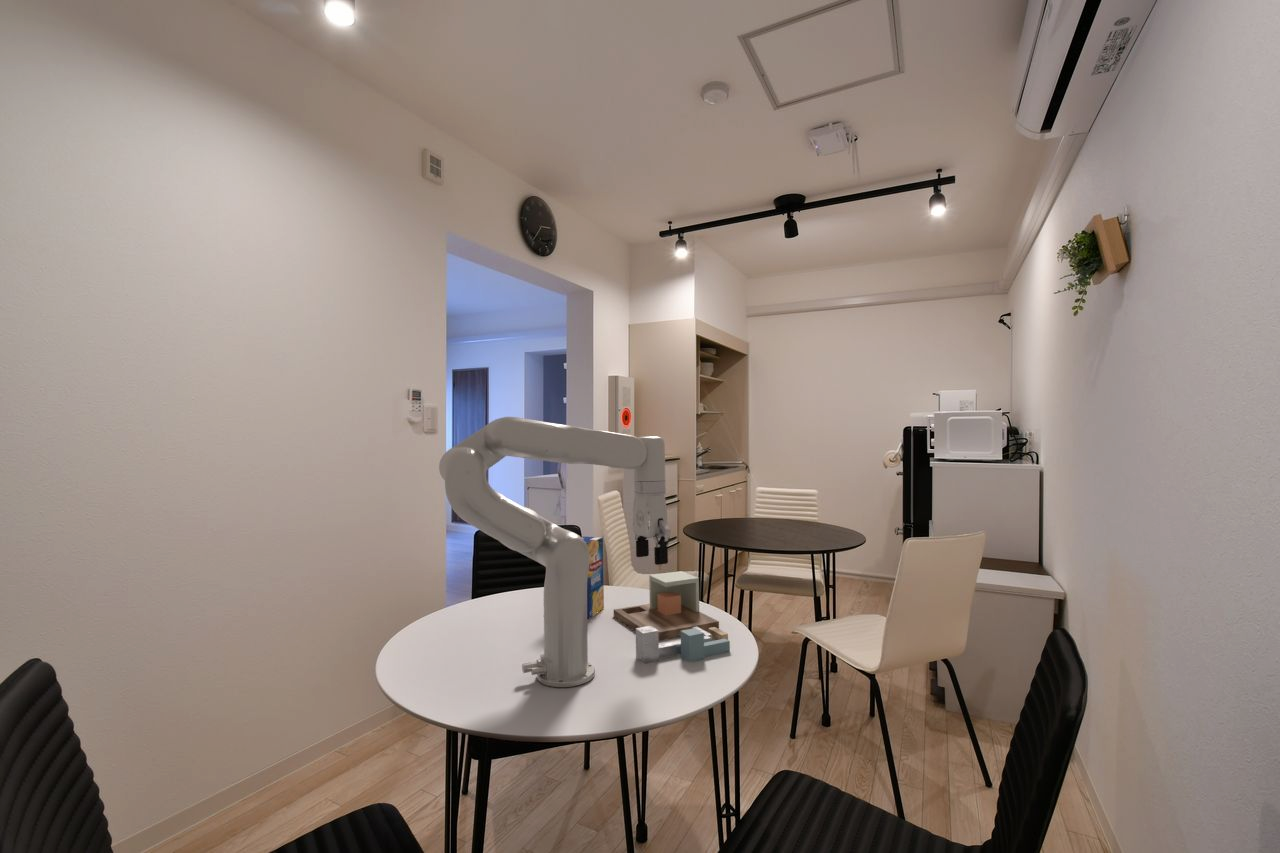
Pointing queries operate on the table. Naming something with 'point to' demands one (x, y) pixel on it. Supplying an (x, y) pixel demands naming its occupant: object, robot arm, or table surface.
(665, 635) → the deck
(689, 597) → the cubby
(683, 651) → the light blue l-shaped block
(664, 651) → the crook
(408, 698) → the table surface
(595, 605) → the blue food box
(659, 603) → the cube
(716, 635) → the short block
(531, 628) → the table surface
